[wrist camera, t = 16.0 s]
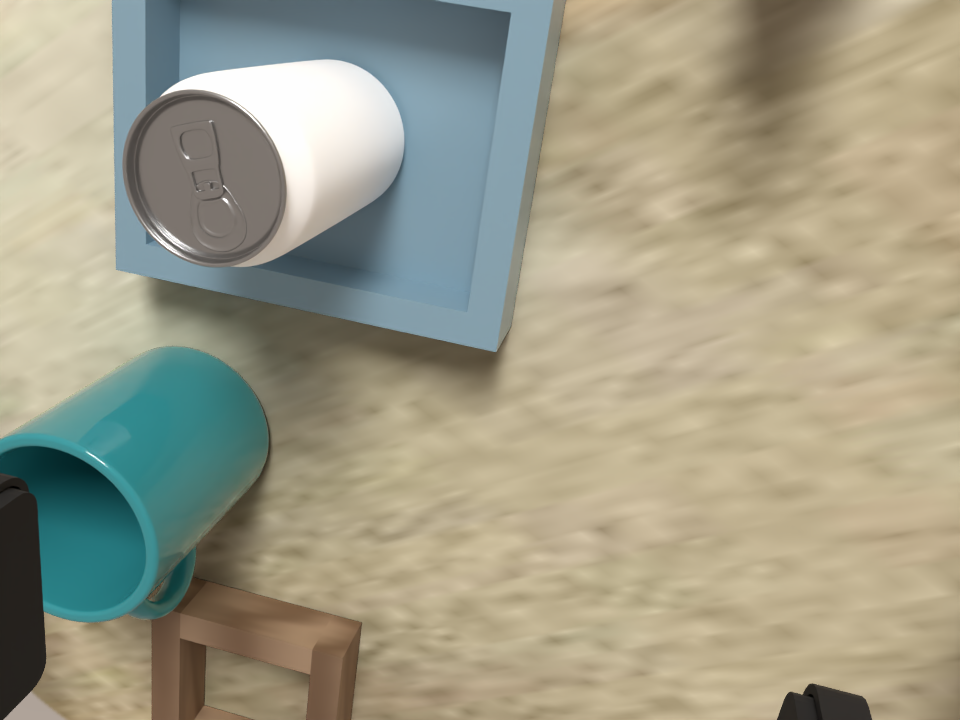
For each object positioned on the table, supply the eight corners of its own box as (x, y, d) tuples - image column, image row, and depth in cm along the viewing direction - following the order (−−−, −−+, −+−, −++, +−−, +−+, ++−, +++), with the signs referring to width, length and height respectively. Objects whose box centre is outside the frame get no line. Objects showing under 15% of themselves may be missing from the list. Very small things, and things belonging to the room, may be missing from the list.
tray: (569, -21, 35) (557, -25, 32) (510, 326, 41) (496, 352, 38) (158, -84, 38) (110, -93, 35) (157, 251, 44) (116, 269, 41)
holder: (361, 622, 49) (342, 658, 47) (345, 768, 53) (326, 808, 51) (180, 573, 51) (151, 605, 48) (178, 718, 55) (151, 755, 52)
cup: (154, 543, 51) (18, 676, 40) (98, 345, 47) (-67, 436, 36) (299, 545, 48) (195, 685, 38) (254, 337, 44) (124, 432, 34)
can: (287, 217, 41) (143, 290, 30) (252, 72, 39) (83, 93, 28) (420, 198, 39) (319, 268, 28) (391, 45, 37) (269, 57, 26)
